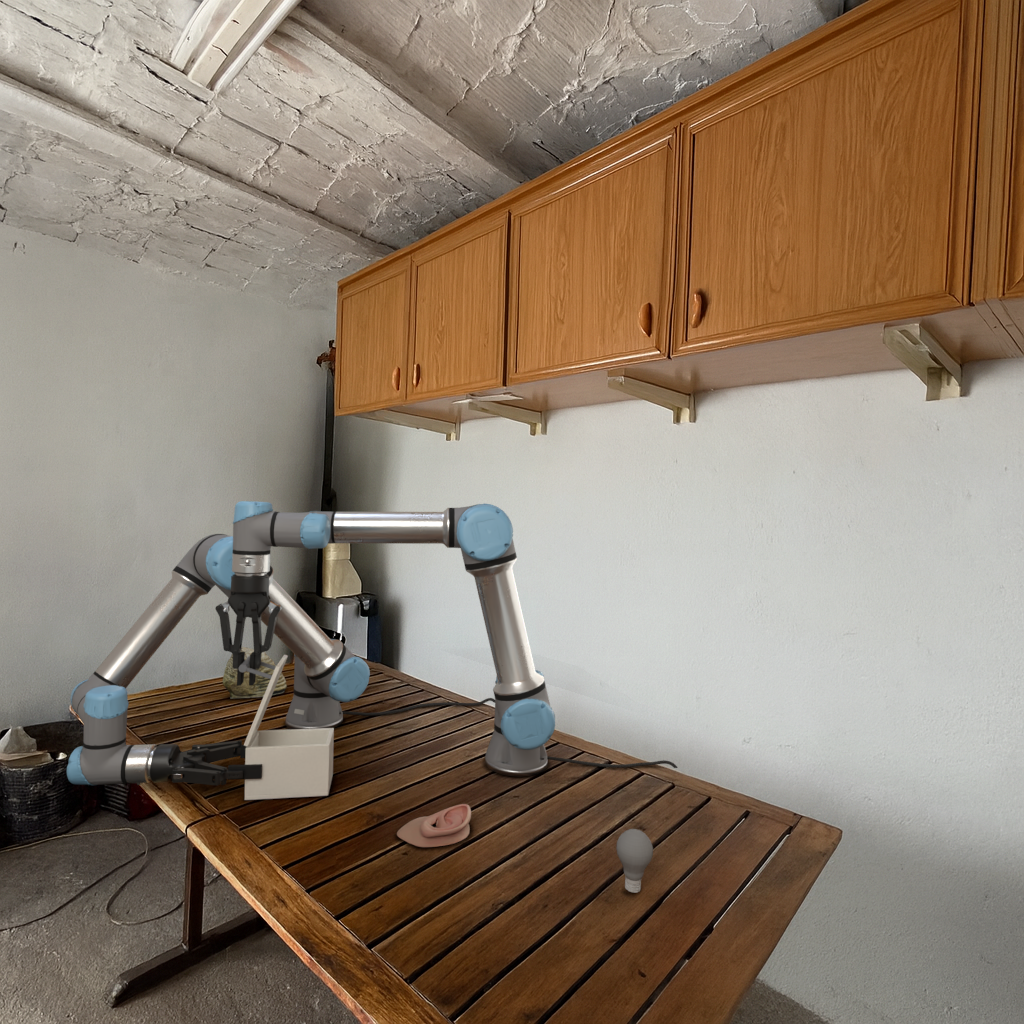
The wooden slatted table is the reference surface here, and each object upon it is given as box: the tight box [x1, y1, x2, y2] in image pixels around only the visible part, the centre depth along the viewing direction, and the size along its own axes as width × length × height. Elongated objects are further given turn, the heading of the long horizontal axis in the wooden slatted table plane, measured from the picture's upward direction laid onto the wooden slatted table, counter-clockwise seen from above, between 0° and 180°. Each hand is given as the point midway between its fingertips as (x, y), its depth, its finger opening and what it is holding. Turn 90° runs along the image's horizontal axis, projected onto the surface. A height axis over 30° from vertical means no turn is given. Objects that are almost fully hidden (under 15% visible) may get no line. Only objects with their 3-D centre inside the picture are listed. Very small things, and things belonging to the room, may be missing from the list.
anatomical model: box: [396, 803, 472, 848], centre depth 121 cm, size 13×4×12 cm
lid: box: [239, 654, 289, 747], centre depth 135 cm, size 17×10×8 cm
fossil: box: [222, 646, 288, 699], centre depth 198 cm, size 9×18×15 cm, turn 132°
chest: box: [244, 728, 335, 801], centre depth 137 cm, size 17×10×11 cm, turn 100°
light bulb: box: [615, 828, 654, 894], centre depth 106 cm, size 6×6×10 cm
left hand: (266, 760), depth 136 cm, fingers closed on chest, 10 cm apart
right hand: (246, 683), depth 135 cm, fingers closed
